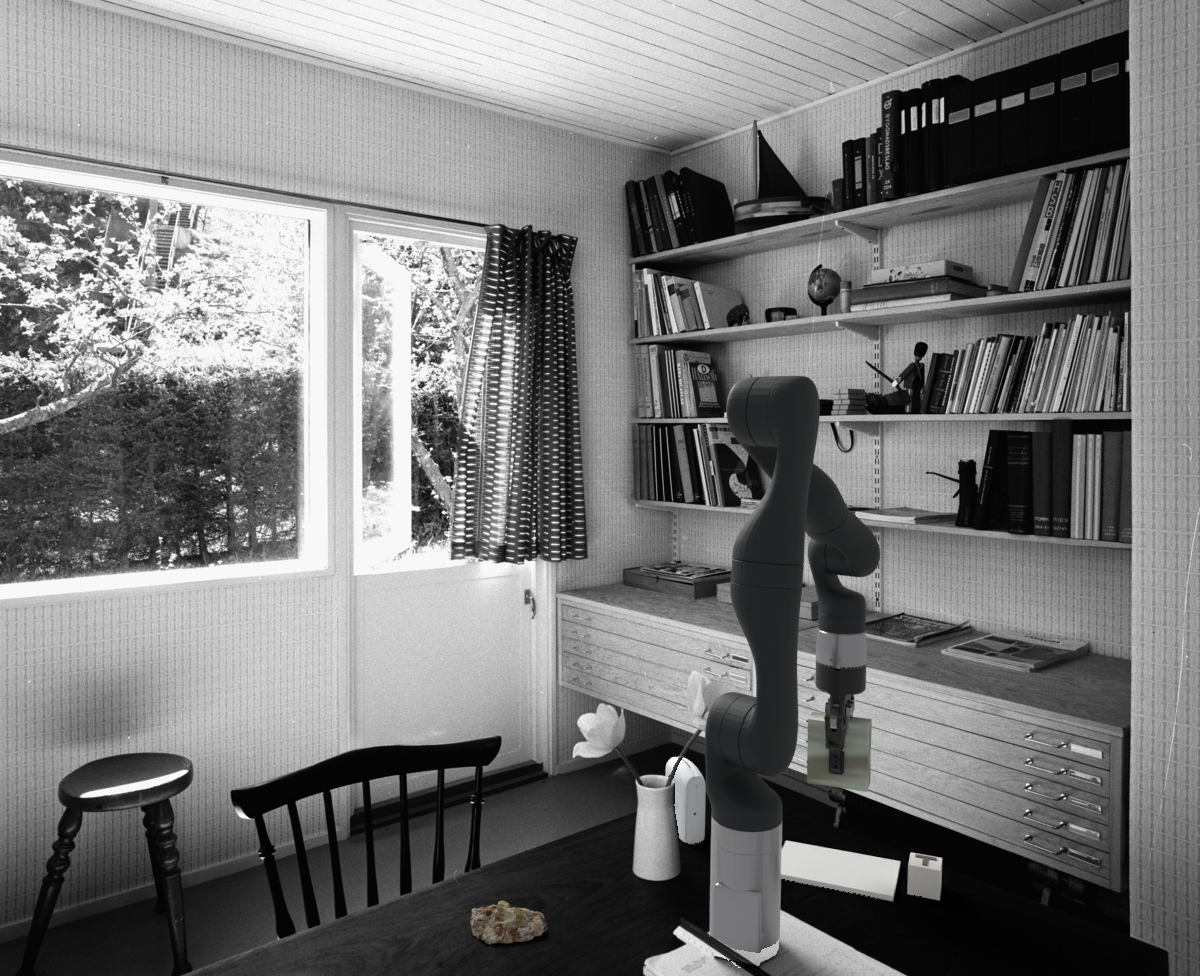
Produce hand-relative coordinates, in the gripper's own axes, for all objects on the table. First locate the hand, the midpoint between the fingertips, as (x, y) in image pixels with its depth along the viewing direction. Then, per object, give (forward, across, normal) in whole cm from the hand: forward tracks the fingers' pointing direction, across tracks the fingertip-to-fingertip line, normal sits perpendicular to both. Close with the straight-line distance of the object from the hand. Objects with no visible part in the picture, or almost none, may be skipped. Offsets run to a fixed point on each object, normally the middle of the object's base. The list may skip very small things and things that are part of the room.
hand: (838, 768), depth 140 cm
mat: (+16, 0, 0) cm, 16 cm away
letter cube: (+17, 0, +13) cm, 21 cm away
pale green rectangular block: (+2, 0, 0) cm, 2 cm away
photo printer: (+17, -4, -26) cm, 31 cm away
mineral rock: (+17, +36, -38) cm, 55 cm away
